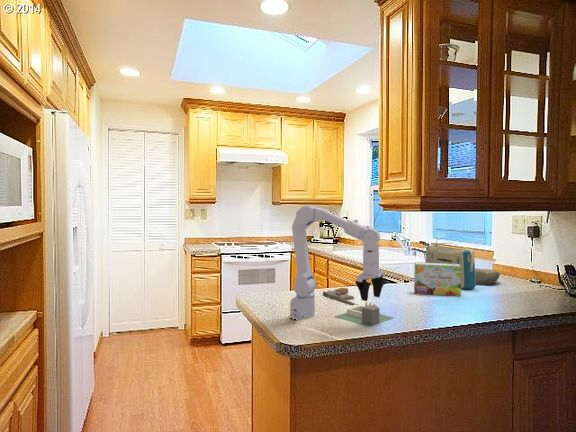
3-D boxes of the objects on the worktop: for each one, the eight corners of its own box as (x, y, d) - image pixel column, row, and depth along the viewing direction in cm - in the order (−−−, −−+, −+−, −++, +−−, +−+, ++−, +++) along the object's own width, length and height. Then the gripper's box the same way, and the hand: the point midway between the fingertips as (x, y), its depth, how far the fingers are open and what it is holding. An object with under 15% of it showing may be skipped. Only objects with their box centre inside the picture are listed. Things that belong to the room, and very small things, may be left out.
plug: (371, 325, 145) (372, 309, 145) (361, 322, 149) (362, 306, 148) (379, 322, 148) (379, 306, 148) (369, 320, 152) (369, 304, 151)
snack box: (414, 294, 198) (415, 263, 197) (414, 291, 203) (414, 261, 203) (461, 296, 193) (461, 265, 192) (459, 293, 198) (459, 263, 198)
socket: (364, 319, 153) (364, 313, 153) (346, 314, 159) (346, 309, 159) (377, 314, 158) (377, 309, 158) (360, 310, 165) (360, 305, 165)
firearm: (383, 301, 179) (356, 305, 172) (383, 306, 179) (356, 310, 172) (344, 287, 204) (319, 290, 197) (343, 292, 204) (319, 295, 197)
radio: (423, 280, 232) (423, 237, 231) (433, 279, 235) (434, 236, 234) (465, 290, 205) (466, 241, 204) (476, 289, 208) (477, 241, 207)
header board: (369, 329, 144) (369, 326, 144) (333, 319, 156) (333, 316, 156) (395, 320, 155) (395, 317, 155) (359, 311, 167) (359, 308, 167)
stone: (462, 282, 225) (462, 268, 225) (483, 279, 234) (484, 265, 234) (484, 287, 213) (485, 272, 213) (506, 283, 222) (507, 269, 221)
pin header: (374, 314, 160) (374, 304, 160) (363, 311, 164) (363, 301, 164) (377, 313, 161) (377, 303, 161) (365, 310, 165) (365, 301, 165)
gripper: (368, 265, 140) (367, 304, 140) (391, 261, 150) (391, 297, 150) (351, 263, 145) (351, 300, 146) (375, 259, 155) (375, 294, 155)
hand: (370, 298), depth 148 cm, fingers open, 7 cm apart
